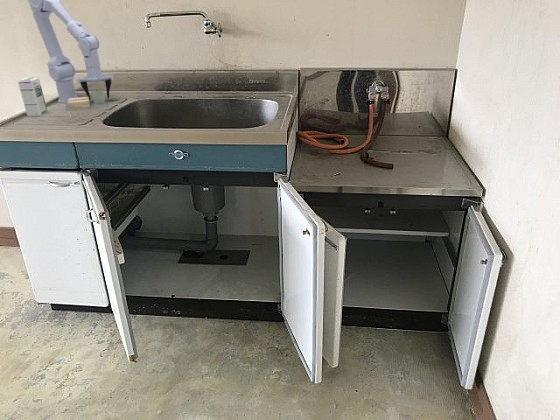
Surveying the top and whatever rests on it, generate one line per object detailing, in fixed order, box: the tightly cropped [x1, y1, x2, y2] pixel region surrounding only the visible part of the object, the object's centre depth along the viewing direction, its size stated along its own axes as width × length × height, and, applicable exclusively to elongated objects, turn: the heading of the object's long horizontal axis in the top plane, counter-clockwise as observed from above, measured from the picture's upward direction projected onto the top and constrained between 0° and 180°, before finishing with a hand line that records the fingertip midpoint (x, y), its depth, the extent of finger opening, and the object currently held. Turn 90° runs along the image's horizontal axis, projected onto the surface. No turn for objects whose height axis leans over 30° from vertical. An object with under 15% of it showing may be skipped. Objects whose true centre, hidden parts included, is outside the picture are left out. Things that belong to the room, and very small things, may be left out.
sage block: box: [91, 88, 106, 103], centre depth 204 cm, size 4×4×5 cm
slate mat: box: [65, 99, 110, 112], centre depth 200 cm, size 14×17×1 cm
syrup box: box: [17, 76, 48, 117], centre depth 186 cm, size 6×6×14 cm
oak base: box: [67, 96, 91, 111], centre depth 197 cm, size 8×8×3 cm
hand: (99, 98), depth 205 cm, fingers open, 7 cm apart
